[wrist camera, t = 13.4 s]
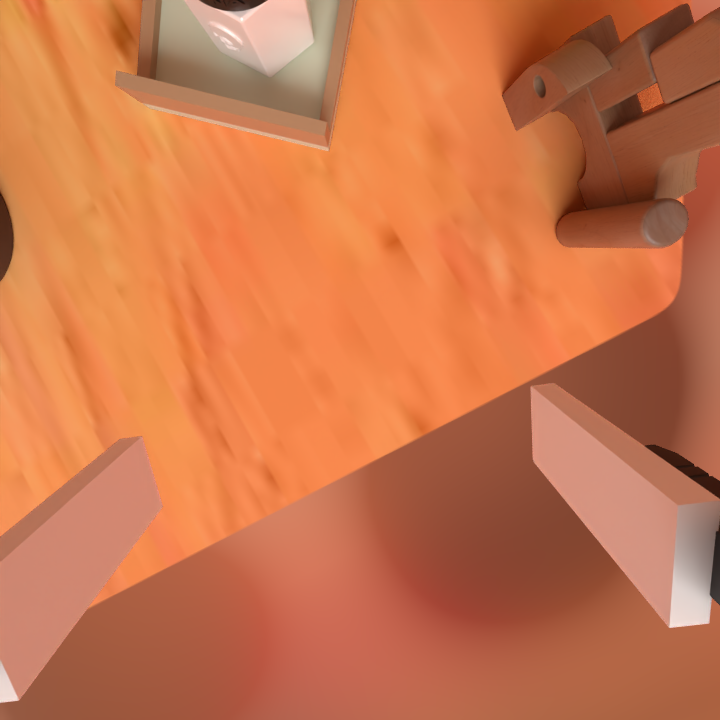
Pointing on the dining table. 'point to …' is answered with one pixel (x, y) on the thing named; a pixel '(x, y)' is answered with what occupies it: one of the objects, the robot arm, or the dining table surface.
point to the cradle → (241, 75)
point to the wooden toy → (631, 123)
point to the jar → (257, 30)
